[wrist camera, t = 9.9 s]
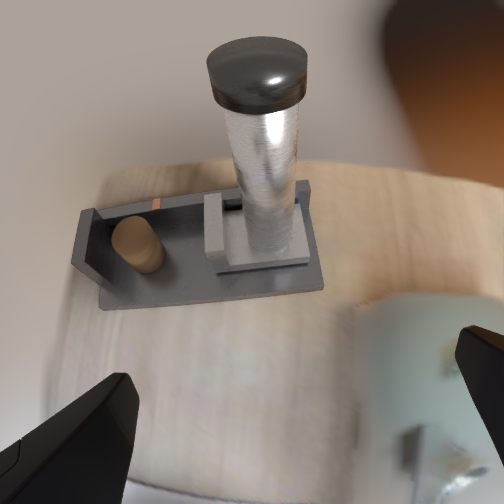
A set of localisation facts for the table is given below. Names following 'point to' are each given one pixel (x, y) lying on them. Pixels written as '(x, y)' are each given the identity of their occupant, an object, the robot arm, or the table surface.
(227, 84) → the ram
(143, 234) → the tan rounded cylinder
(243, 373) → the table surface
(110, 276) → the grey channel tray
